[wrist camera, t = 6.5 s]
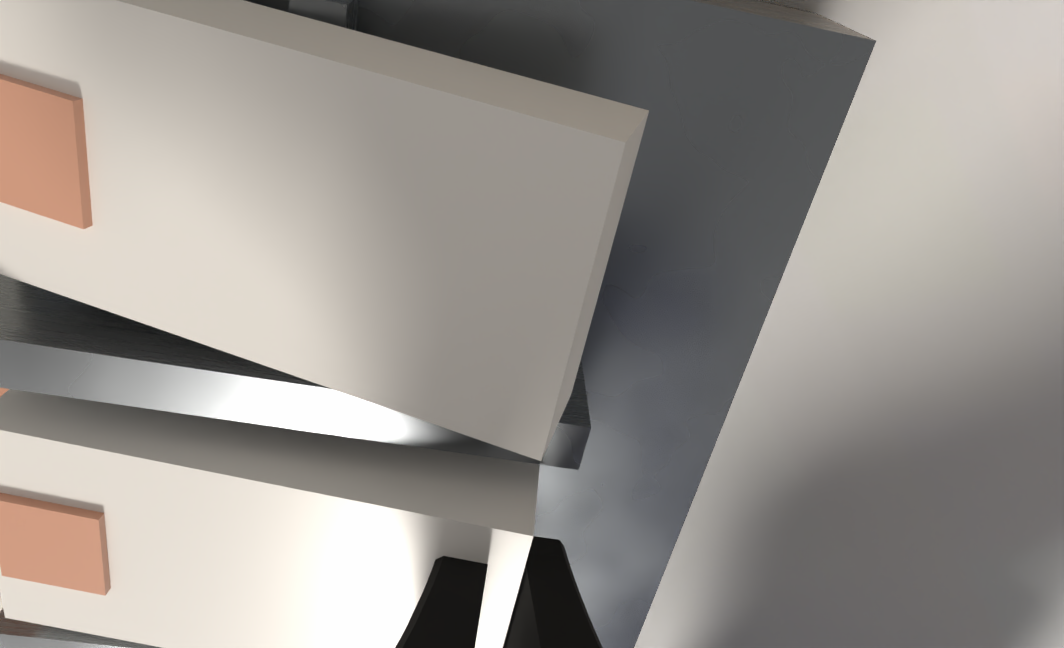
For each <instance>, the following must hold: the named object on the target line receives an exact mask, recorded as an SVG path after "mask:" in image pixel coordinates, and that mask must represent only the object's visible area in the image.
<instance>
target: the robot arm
mask: <svg viewBox="0 0 1064 648" xmlns="http://www.w3.org/2000/svg"><path fill="white" fill-rule="evenodd" d="M487 567H488V564H485V563H479V562H474V561H469V560H463V559H458V558H453V557H447V556H442V557H440V558H438V559H435V562H434V565H433V568H432V571H431V573H430V576H429V578H428V581H427V583H426V586H425V588H424V590H423V593H422V595H421V597H420V599H419V601H418V603H417V605H416V608H415V610H414V612H413V614H412V616H411V618H410V620H409V622H408V625H407V627H406V629H405V630H404V632H403V634H402V636H401V638H400V640H399V642H398V643H397V645H396V647H395V648H475V643H476V637H477V631H478V624H479V618H480V612H481V605H482V599H483V592H484V586H485V580H486V573H487ZM503 648H603V647H602V645H601V643H600V640H599V638H598V636H597V634H596V631H595V629H594V627H593V625H592V622H591V620H590V617H589V615H588V612H587V610H586V607H585V605H584V602H583V600H582V597H581V594H580V592H579V589H578V586H577V584H576V581H575V578H574V575H573V572H572V569H571V566H570V563H569V560H568V557H567V554H566V550H565V547H564V545H563V544H562V542H561V541H560V540H558V539H551V538H544V537H537V536H533V539H532V543H531V547H530V550H529V554H528V558H527V561H526V565H525V568H524V572H523V576H522V579H521V583H520V587H519V590H518V594H517V597H516V601H515V605H514V608H513V612H512V616H511V619H510V623H509V626H508V630H507V634H506V637H505V641H504V645H503Z"/></svg>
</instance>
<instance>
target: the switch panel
mask: <svg viewBox="0 0 1064 648" xmlns="http://www.w3.org/2000/svg"><path fill="white" fill-rule="evenodd" d="M244 1H248V2H252V3H255V4H259V5H263V6H266V7H270V8H274V9H277V10H281V11H285V12H288V13H292V14H296V15H299V16H303V17H307V18H311V19H314V20H318V21H322V22H325V23H329V24H333V25H336V26H340V27H344V28H347V29H351V30H355V31H358V32H362V33H366V34H369V35H373V36H377V37H380V38H384V39H388V40H391V41H395V42H399V43H402V44H406V45H410V46H414V47H417V48H421V49H425V50H428V51H432V52H436V53H439V54H443V55H447V56H450V57H454V58H458V59H461V60H465V61H469V62H472V63H476V64H480V65H483V66H487V67H491V68H494V69H498V70H502V71H505V72H509V73H513V74H517V75H520V76H524V77H528V78H531V79H535V80H539V81H542V82H546V83H550V84H553V85H557V86H561V87H564V88H568V89H572V90H575V91H579V92H583V93H586V94H590V95H594V96H597V97H601V98H605V99H608V100H612V101H616V102H619V103H623V104H627V105H631V106H634V107H638V108H642V109H645V110H649V113H648V117H647V120H646V124H645V128H644V131H643V135H642V139H641V142H640V146H639V149H638V153H637V157H636V160H635V164H634V168H633V171H632V175H631V179H630V182H629V186H628V190H627V193H626V197H625V200H624V204H623V208H622V211H621V215H620V219H619V222H618V226H617V230H616V233H615V237H614V240H613V244H612V248H611V251H610V255H609V259H608V262H607V266H606V270H605V273H604V277H603V281H602V284H601V288H600V291H599V295H598V299H597V302H596V306H595V310H594V313H593V317H592V321H591V324H590V328H589V331H588V335H587V339H586V342H585V346H584V350H583V353H582V357H581V361H580V364H579V368H578V372H577V375H576V379H575V382H574V386H573V390H572V393H571V396H570V398H569V401H568V403H567V405H566V407H565V409H564V412H563V414H562V416H561V418H560V421H559V423H558V425H557V427H556V429H555V432H554V434H553V436H552V438H551V441H550V443H549V445H548V447H547V449H546V452H545V454H544V456H543V458H542V461H539V460H536V459H533V458H530V457H527V456H524V455H521V454H518V453H516V452H513V451H510V450H507V449H504V448H501V447H498V446H495V445H492V444H490V443H487V442H484V441H481V440H478V439H475V438H472V437H469V436H466V435H464V434H461V433H458V432H455V431H452V430H449V429H446V428H443V427H440V426H438V425H435V424H432V423H429V422H426V421H423V420H420V419H417V418H414V417H412V416H409V415H406V414H403V413H400V412H397V411H394V410H391V409H388V408H386V407H383V406H380V405H377V404H374V403H371V402H368V401H365V400H363V399H360V398H357V397H354V396H351V395H348V394H345V393H342V392H339V391H337V390H334V389H331V388H328V387H325V386H322V385H319V384H316V383H313V382H311V381H308V380H305V379H302V378H299V377H296V376H293V375H290V374H287V373H285V372H282V371H279V370H276V369H273V368H270V367H267V366H264V365H261V364H259V363H256V362H253V361H250V360H247V359H244V358H241V357H238V356H235V355H233V354H230V353H227V352H224V351H221V350H218V349H215V348H212V347H209V346H207V345H204V344H201V343H198V342H195V341H192V340H189V339H186V338H183V337H181V336H178V335H175V334H172V333H169V332H166V331H163V330H160V329H158V328H155V327H152V326H149V325H146V324H143V323H140V322H137V321H134V320H132V319H129V318H126V317H123V316H120V315H117V314H114V313H111V312H108V311H106V310H103V309H100V308H97V307H94V306H91V305H88V304H85V303H82V302H80V301H77V300H74V299H71V298H68V297H65V296H62V295H59V294H56V293H54V292H51V291H48V290H45V289H42V288H39V287H36V286H33V285H30V284H28V283H25V282H22V281H19V280H16V279H13V278H10V277H7V276H4V275H2V274H0V397H1V396H2V395H3V394H4V393H5V392H7V391H8V390H9V389H13V390H20V391H27V392H34V393H41V394H48V395H55V396H62V397H69V398H76V399H83V400H90V401H97V402H104V403H111V404H118V405H125V406H132V407H139V408H146V409H153V410H160V411H167V412H174V413H181V414H188V415H195V416H203V417H210V418H217V419H224V420H231V421H238V422H245V423H252V424H259V425H266V426H273V427H280V428H287V429H294V430H301V431H308V432H315V433H322V434H329V435H336V436H343V437H350V438H357V439H364V440H371V441H378V442H385V443H392V444H399V445H406V446H413V447H420V448H427V449H434V450H441V451H448V452H455V453H462V454H469V455H476V456H483V457H490V458H497V459H504V460H512V461H519V462H526V463H533V464H538V465H540V468H539V479H538V490H537V501H536V512H535V523H534V534H533V536H537V537H544V538H551V539H558V540H560V541H561V542H562V544H563V545H564V547H565V550H566V554H567V557H568V560H569V563H570V566H571V569H572V572H573V575H574V578H575V581H576V584H577V586H578V589H579V592H580V594H581V597H582V600H583V602H584V605H585V607H586V610H587V612H588V615H589V617H590V620H591V622H592V625H593V627H594V629H595V631H596V634H597V636H598V638H599V640H600V643H601V645H602V647H603V648H634V646H635V644H636V641H637V639H638V636H639V634H640V631H641V629H642V626H643V624H644V621H645V619H646V616H647V614H648V611H649V609H650V606H651V604H652V601H653V599H654V596H655V594H656V591H657V589H658V586H659V584H660V581H661V579H662V576H663V574H664V571H665V569H666V566H667V564H668V561H669V559H670V556H671V554H672V551H673V549H674V546H675V544H676V541H677V539H678V536H679V534H680V531H681V528H682V526H683V523H684V521H685V518H686V516H687V513H688V511H689V508H690V506H691V503H692V501H693V498H694V496H695V493H696V491H697V488H698V486H699V483H700V481H701V478H702V476H703V473H704V471H705V468H706V466H707V463H708V461H709V458H710V456H711V453H712V451H713V448H714V446H715V443H716V441H717V438H718V436H719V433H720V431H721V428H722V426H723V423H724V421H725V418H726V416H727V413H728V411H729V408H730V406H731V403H732V401H733V398H734V396H735V393H736V391H737V388H738V386H739V383H740V381H741V378H742V376H743V373H744V371H745V368H746V366H747V363H748V361H749V358H750V356H751V353H752V351H753V348H754V346H755V343H756V341H757V338H758V336H759V333H760V331H761V328H762V326H763V323H764V321H765V318H766V316H767V313H768V310H769V308H770V305H771V303H772V300H773V298H774V295H775V293H776V290H777V288H778V285H779V283H780V280H781V278H782V275H783V273H784V270H785V268H786V265H787V263H788V260H789V258H790V255H791V253H792V250H793V248H794V245H795V243H796V240H797V238H798V235H799V233H800V230H801V228H802V225H803V223H804V220H805V218H806V215H807V213H808V210H809V208H810V205H811V203H812V200H813V198H814V195H815V193H816V190H817V188H818V185H819V183H820V180H821V178H822V175H823V173H824V170H825V168H826V165H827V163H828V160H829V158H830V155H831V153H832V150H833V148H834V145H835V143H836V140H837V138H838V135H839V133H840V130H841V128H842V125H843V123H844V120H845V118H846V115H847V113H848V110H849V108H850V105H851V103H852V100H853V98H854V95H855V92H856V90H857V87H858V85H859V82H860V80H861V77H862V75H863V72H864V70H865V67H866V65H867V62H868V60H869V57H870V55H871V52H872V50H873V47H874V45H875V42H876V41H875V40H873V39H871V38H869V37H867V36H864V35H862V34H860V33H858V32H856V31H854V30H851V29H849V28H847V27H845V26H843V25H840V24H838V23H836V22H834V21H832V20H830V19H827V18H825V17H823V16H821V15H819V14H817V13H812V12H808V11H803V10H799V9H794V8H790V7H785V6H781V5H776V4H772V3H767V2H763V1H758V0H244ZM0 648H161V647H156V646H151V645H146V644H140V643H135V642H130V641H125V640H119V639H114V638H109V637H104V636H98V635H93V634H88V633H83V632H77V631H72V630H67V629H62V628H56V627H51V626H46V625H41V624H35V623H30V622H25V621H20V620H14V619H9V618H5V615H4V609H3V604H2V599H1V593H0Z"/></svg>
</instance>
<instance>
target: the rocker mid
mask: <svg viewBox="0 0 1064 648" xmlns="http://www.w3.org/2000/svg"><path fill="white" fill-rule="evenodd" d="M539 468H540V465H538V464H533V463H526V462H519V461H512V460H504V459H497V458H490V457H483V456H476V455H469V454H462V453H455V452H448V451H441V450H434V449H427V448H420V447H413V446H406V445H399V444H392V443H385V442H378V441H371V440H364V439H357V438H350V437H343V436H336V435H329V434H322V433H315V432H308V431H301V430H294V429H287V428H280V427H273V426H266V425H259V424H252V423H245V422H238V421H231V420H224V419H217V418H210V417H203V416H195V415H188V414H181V413H174V412H167V411H160V410H153V409H146V408H139V407H132V406H125V405H118V404H111V403H104V402H97V401H90V400H83V399H76V398H69V397H62V396H55V395H48V394H41V393H34V392H27V391H20V390H13V389H9V390H8V391H7V392H5V393H4V394H3V395H2V396H1V397H0V593H1V599H2V604H3V609H4V615H5V618H9V619H14V620H20V621H25V622H30V623H35V624H41V625H46V626H51V627H56V628H62V629H67V630H72V631H77V632H83V633H88V634H93V635H98V636H104V637H109V638H114V639H119V640H125V641H130V642H135V643H140V644H146V645H151V646H156V647H161V648H395V647H396V645H397V643H398V642H399V640H400V638H401V636H402V634H403V632H404V630H405V629H406V627H407V625H408V622H409V620H410V618H411V616H412V614H413V612H414V610H415V608H416V605H417V603H418V601H419V599H420V597H421V595H422V593H423V590H424V588H425V586H426V583H427V581H428V578H429V576H430V573H431V571H432V568H433V565H434V562H435V559H438V558H440V557H442V556H447V557H453V558H458V559H463V560H469V561H474V562H479V563H485V564H488V567H487V573H486V580H485V586H484V592H483V599H482V605H481V612H480V618H479V624H478V631H477V637H476V643H475V648H503V645H504V641H505V637H506V634H507V630H508V626H509V623H510V619H511V616H512V612H513V608H514V605H515V601H516V597H517V594H518V590H519V587H520V583H521V579H522V576H523V572H524V568H525V565H526V561H527V558H528V554H529V550H530V547H531V543H532V539H533V534H534V523H535V512H536V501H537V490H538V479H539Z"/></svg>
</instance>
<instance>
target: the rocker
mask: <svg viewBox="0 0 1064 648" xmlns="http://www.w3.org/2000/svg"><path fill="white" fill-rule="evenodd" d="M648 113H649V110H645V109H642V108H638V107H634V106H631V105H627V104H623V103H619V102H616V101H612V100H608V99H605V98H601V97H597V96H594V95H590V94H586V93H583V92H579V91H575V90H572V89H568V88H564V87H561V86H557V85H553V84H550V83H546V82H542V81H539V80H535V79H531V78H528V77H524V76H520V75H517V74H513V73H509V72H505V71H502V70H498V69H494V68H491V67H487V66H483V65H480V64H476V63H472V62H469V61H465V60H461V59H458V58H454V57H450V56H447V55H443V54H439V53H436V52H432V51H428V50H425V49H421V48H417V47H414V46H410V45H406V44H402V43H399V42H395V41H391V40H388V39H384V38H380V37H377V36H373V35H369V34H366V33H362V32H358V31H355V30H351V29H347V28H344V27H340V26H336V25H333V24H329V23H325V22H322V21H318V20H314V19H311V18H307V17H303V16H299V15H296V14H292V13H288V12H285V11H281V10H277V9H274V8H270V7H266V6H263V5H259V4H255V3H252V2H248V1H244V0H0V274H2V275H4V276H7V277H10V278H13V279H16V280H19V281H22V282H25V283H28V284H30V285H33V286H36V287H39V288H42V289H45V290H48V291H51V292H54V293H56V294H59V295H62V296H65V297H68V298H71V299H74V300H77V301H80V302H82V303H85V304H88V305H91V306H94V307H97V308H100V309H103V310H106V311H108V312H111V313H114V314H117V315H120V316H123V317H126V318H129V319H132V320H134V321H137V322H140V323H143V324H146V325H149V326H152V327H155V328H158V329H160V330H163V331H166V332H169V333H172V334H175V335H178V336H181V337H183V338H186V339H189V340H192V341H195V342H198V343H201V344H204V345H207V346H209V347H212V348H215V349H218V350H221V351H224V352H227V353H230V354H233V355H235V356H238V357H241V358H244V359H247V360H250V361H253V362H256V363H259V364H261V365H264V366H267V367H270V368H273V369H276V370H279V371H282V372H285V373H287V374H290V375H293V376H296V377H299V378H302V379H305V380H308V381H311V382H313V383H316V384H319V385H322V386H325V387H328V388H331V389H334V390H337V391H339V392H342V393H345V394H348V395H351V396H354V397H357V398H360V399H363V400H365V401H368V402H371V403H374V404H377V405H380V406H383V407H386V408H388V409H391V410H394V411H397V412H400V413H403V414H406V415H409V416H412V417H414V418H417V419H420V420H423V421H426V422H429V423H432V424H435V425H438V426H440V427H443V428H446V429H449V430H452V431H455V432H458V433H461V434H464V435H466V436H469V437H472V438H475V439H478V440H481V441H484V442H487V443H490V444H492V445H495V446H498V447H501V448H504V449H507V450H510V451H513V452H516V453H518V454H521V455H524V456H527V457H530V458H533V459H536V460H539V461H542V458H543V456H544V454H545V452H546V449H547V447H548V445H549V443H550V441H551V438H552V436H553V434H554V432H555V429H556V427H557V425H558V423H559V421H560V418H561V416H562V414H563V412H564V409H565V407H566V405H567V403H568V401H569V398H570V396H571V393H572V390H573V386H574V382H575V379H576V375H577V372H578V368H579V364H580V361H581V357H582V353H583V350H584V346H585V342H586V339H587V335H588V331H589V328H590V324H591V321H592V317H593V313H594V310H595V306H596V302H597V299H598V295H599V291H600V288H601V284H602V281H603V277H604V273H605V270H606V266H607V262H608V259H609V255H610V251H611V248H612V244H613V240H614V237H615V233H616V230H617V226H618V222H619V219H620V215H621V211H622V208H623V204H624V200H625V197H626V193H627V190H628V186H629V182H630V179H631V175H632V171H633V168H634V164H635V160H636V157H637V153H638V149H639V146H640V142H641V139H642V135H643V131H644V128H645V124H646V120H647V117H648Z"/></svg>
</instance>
